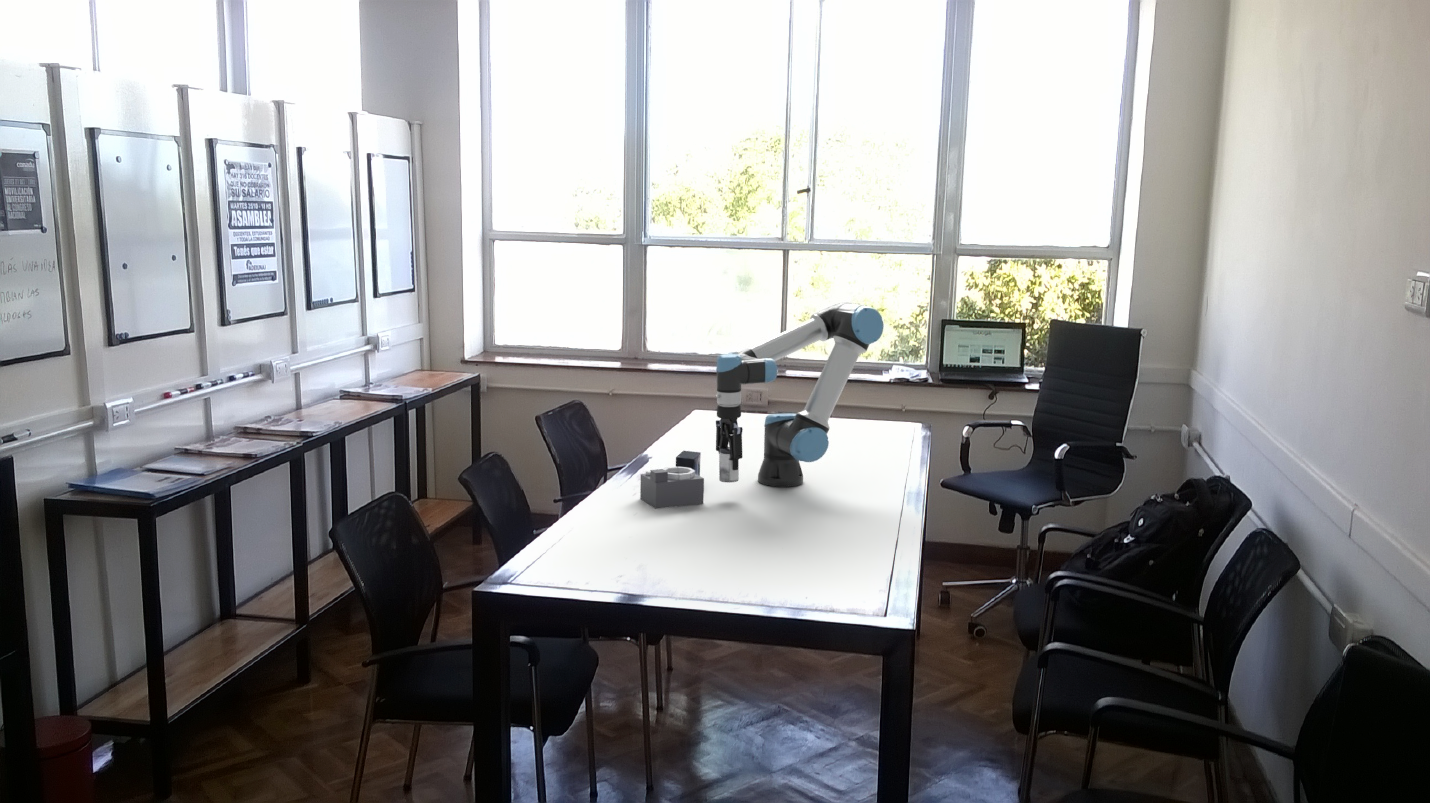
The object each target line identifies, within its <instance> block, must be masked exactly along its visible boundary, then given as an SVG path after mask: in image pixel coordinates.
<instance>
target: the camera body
mask: <svg viewBox="0 0 1430 803" xmlns="http://www.w3.org/2000/svg"><path fill="white" fill-rule="evenodd" d="M704 487H705V478H704V477H702V476H701V475H700V476H699V475H697V474H695V470H693V469H691V468H687V467H676V466H668V467H664V468H660V469H659V468H658V469H656V468H655V469H650V470H648V471H647V470H646V471H645V473H640V492H639V493H640V495H639V496H640V497H639V498H640V499H639V500H641V501H643V502H645V503H646V504H648V505H649V506H651V507H652V508H654V509H655V510H656V509H657V510H659V509H664V508H665V509H666V508H675V506H677V507H682V506H683V507H685V506H686V507H687V506H695V505H704V496H705V495H704V494H705V492H704V490H705V488H704Z"/></svg>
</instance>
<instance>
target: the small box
mask: <svg viewBox="0 0 1430 803" xmlns="http://www.w3.org/2000/svg"><path fill="white" fill-rule="evenodd" d="M701 453H702V452H700V451H690V450H683V451H681V452H680V453H679V454H678V455H677V456H675V467H687V468H691V469H693V470H695V474H697V475H699V476H700V477H701V455H702V454H701Z"/></svg>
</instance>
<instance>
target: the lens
mask: <svg viewBox="0 0 1430 803" xmlns="http://www.w3.org/2000/svg"><path fill="white" fill-rule="evenodd" d="M718 455H719V457H718V462H719V466H718V467H719V468H718V470H719V471H718V472H719V474H718V475H719V476H718V478H719V482H721V483H736V482H738V481H739V479H740V478H739V471H740V470H739V460H740V459H739V460H738V479H737V480H729V458H731V455H730V448H729V446H728V447H722V448H720V452H718Z"/></svg>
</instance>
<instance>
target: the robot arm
mask: <svg viewBox="0 0 1430 803" xmlns="http://www.w3.org/2000/svg"><path fill="white" fill-rule="evenodd" d="M883 332H884V320H883V317H882V315H881V313H880V312H879V311H878V310H877V309H876V308H874V307H871V306H868V305H867V304H856V303H852V302H840V303H837V304H834V305H831V306H829V307H827V308H824V309H822V310H819V311H818V312H816V313H813V314H812V315H811V316H810V319H808V320H806V321H803V322H802V323H800V324H798V325H795V326H793V327H790V328H789V329H787V330H785V331H783V332H781V333H778V334H776V335H773V336H771V337H770V338H768V339H765V340H763V341H762V342H759V343H757V344H755V345H753V346H750V347H749V348H745V349H743V350H741V351H731V352H729V353H723V354H720V355H718V356H717V359H716V368H715V371H716V395H715V397H716V403H717V405H716V417H717V418H719V419H717V420H715V426H716V431H715V432H716V433H715V434H716V435H715V437H716V438H715V450H716V452H718V453H719V452H720V448H722V447H729V448H730V455H731V458H729V480H737V479H738V460H741V459H743V430H744V429H743V427H742V426H740V427H739V424H738V418H741V416H742V406H741V403H742V385H750V384H751V385H752V384H766V383H772V382H774V381H775V380H776V379H777V377H778V365H777V363H776V361H779V360H780V359H783V358H784V357H787V356H789V355H791V354H793V353H795V352H798V351H799V350H802V349H804V348H806V347H808V346H810V345H813V344H814V343H816V342H819V341H821V342H826V341H827V340H830V339H833V341H834V346H833V348H832V350H831V351H830V354H829V356H828V357H827V360H826V362H825V364H824V366H823V369H822V371H821V373H820V374H819V377H818V379H817V381H816V383H815V386H814V388H812V391H811V394H810V396H809V398H808V400H807V402H806V404H805V406H804V408H803V409H802V410H801V411H798V412H796V413H790V412H789V413H772V414H768V415H766V417H765V418H764V419H765V420H764V425H763V426H764V437H763V438H764V442H763V443H764V444H763V460H762V463H761V465H760V469H759V470H758V473H757V481H758V483H760V484H762V485H764V486H765V485H766V486H770V487H777V488H779V487H780V488H781V487H782V488H783V487H784V488H785V487H786V488H787V487H790V488H791V487H796V486H797V487H798V486H800V485H802V484H803V483H804V475H803V471H802V467H801V462H804V463H814V462H816V461H818V460H820V459H822V457H823V456H824V455H825V454H826V452H827V451H828V448H829V446H830V445H829V444H830V442H829V437H828V434H829V430H830V426H829V425H830V424H829V420H830V417H831V416H832V413H833V411H834V409H835V407H836V406H837V403H838V401H839V398H840V396H841V395H842V392H843V390H844V388H845V385H846V384H847V382H848V380H849V378H850V376H851V373H852V372H853V369H854V367H855V364H856V362H857V361H858V359H859V356H860V355H861V354H865V353H866V352H867V351H868V349H869V346H870V345H871V344H874V343H876V342H878V341H879V339H880V338H881V336H882V335H883Z"/></svg>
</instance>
